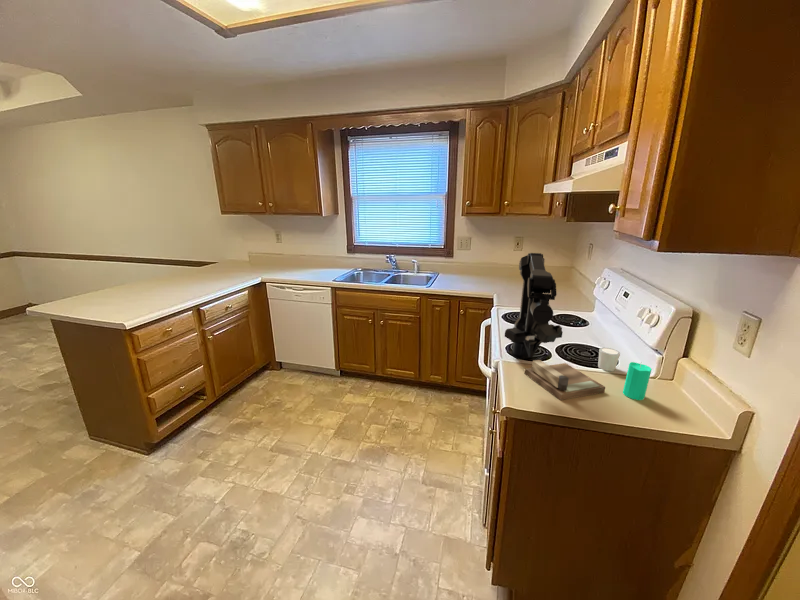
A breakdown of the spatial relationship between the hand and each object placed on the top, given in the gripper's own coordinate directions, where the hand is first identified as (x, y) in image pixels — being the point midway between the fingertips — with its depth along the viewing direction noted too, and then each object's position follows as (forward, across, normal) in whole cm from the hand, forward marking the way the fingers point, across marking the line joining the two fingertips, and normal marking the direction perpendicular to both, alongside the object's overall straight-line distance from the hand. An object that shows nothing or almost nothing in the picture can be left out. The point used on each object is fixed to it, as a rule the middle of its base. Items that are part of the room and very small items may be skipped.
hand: (530, 356), depth 117 cm
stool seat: (+10, +13, -3) cm, 17 cm away
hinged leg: (+8, +6, -3) cm, 10 cm away
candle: (+10, +30, -16) cm, 35 cm away
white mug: (+10, +38, +2) cm, 39 cm away
